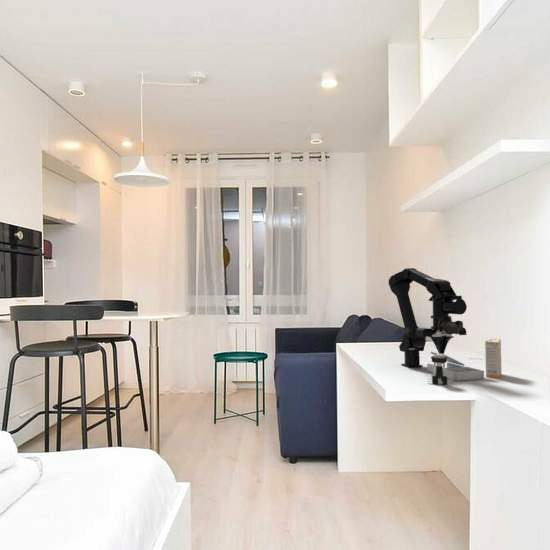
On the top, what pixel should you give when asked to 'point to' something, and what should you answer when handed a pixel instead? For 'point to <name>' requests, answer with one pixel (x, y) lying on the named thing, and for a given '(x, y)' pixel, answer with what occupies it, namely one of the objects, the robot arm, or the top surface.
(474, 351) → the top surface
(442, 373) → the push button
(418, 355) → the robot arm
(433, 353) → the panel
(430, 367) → the grey tray
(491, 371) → the supplement box
